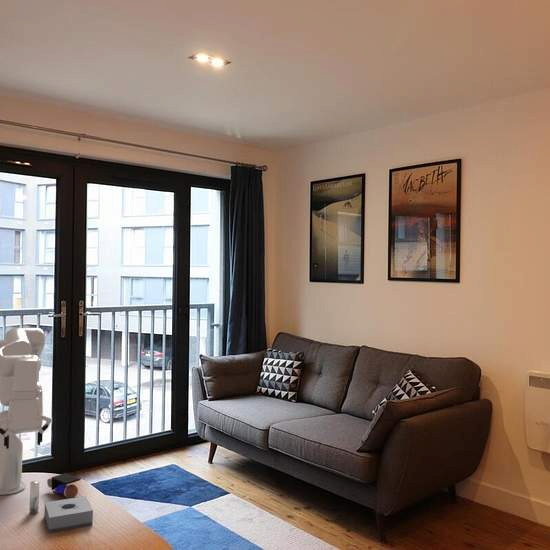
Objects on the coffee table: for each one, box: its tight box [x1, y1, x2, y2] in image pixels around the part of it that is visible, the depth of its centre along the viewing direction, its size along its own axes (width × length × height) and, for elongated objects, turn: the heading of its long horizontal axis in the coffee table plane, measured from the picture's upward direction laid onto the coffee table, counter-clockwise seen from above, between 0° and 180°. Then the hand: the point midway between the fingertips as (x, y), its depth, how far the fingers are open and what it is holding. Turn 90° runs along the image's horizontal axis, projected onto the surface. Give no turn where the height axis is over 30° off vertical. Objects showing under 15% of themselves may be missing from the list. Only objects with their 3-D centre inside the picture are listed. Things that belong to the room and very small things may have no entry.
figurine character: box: [46, 472, 82, 499], centre depth 216 cm, size 7×8×15 cm
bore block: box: [43, 495, 94, 533], centre depth 192 cm, size 14×14×5 cm
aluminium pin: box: [28, 480, 40, 515], centre depth 198 cm, size 3×3×11 cm
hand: (23, 446), depth 184 cm, fingers open, 9 cm apart
